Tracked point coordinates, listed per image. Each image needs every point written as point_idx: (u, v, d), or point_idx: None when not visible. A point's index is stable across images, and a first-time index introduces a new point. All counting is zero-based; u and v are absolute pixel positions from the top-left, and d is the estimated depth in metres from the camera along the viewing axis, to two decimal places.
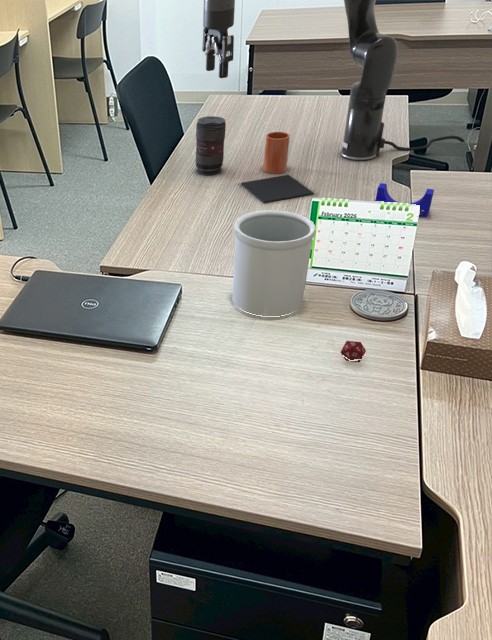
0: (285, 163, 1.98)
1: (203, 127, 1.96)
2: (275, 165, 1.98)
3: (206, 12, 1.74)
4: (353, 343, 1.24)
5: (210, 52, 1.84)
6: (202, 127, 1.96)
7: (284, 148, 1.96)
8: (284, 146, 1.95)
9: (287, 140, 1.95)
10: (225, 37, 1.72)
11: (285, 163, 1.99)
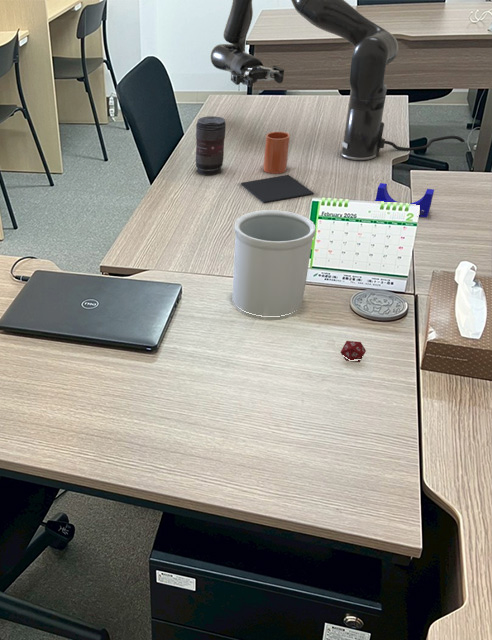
0: (285, 163, 1.98)
1: (203, 127, 1.96)
2: (275, 165, 1.98)
3: None
4: (353, 343, 1.24)
5: (274, 76, 2.03)
6: (202, 127, 1.96)
7: (284, 148, 1.96)
8: (284, 146, 1.95)
9: (287, 140, 1.95)
10: None
11: (285, 163, 1.99)
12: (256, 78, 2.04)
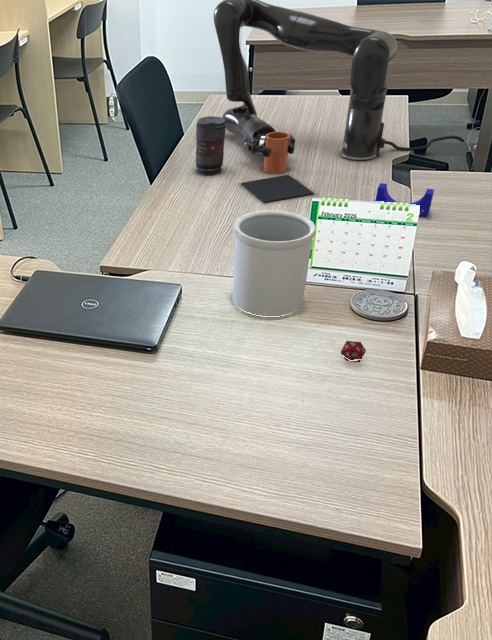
0: (285, 163, 1.98)
1: (203, 127, 1.96)
2: (275, 165, 1.98)
3: None
4: (353, 343, 1.24)
5: None
6: (202, 127, 1.96)
7: (284, 148, 1.96)
8: (284, 146, 1.95)
9: (287, 140, 1.95)
10: None
11: (285, 163, 1.99)
12: None
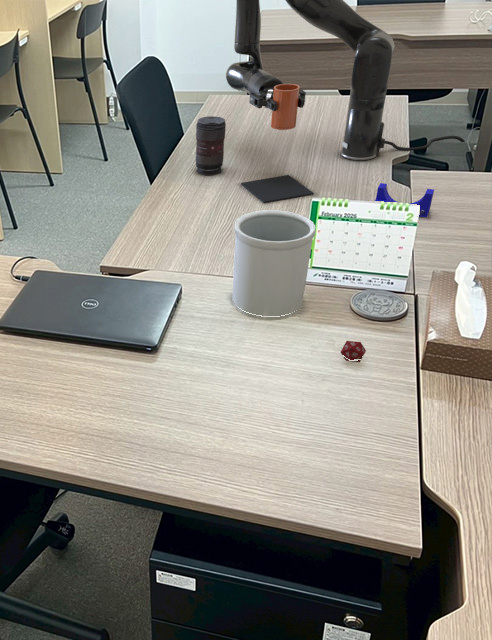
0: (294, 117, 1.82)
1: (203, 127, 1.96)
2: (283, 120, 1.82)
3: None
4: (353, 343, 1.24)
5: None
6: (202, 127, 1.96)
7: (293, 100, 1.79)
8: (293, 99, 1.79)
9: (297, 92, 1.78)
10: None
11: (294, 118, 1.82)
12: None
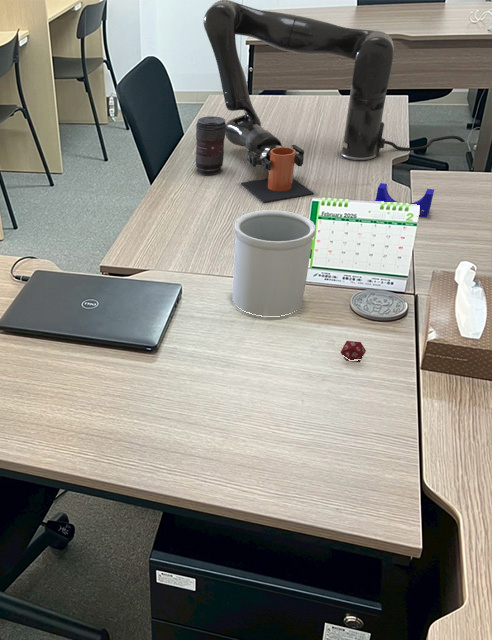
0: (290, 180, 1.87)
1: (203, 127, 1.96)
2: (280, 182, 1.87)
3: None
4: (353, 343, 1.24)
5: None
6: (202, 127, 1.96)
7: (289, 164, 1.84)
8: (289, 163, 1.84)
9: (293, 156, 1.83)
10: None
11: (290, 180, 1.87)
12: None
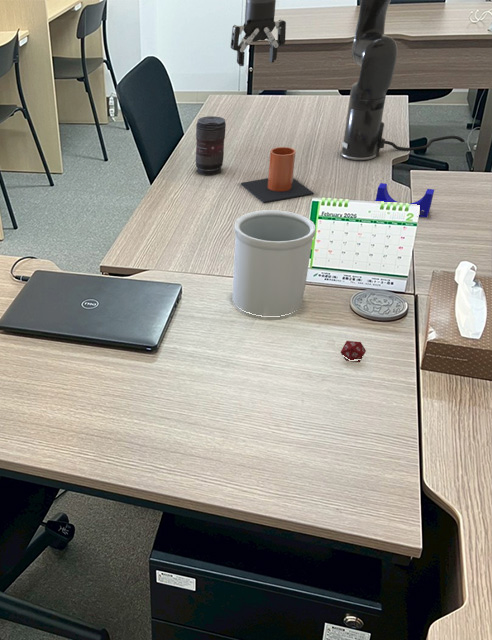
0: (290, 180, 1.87)
1: (203, 127, 1.96)
2: (280, 182, 1.87)
3: None
4: (353, 343, 1.24)
5: (272, 44, 1.90)
6: (202, 127, 1.96)
7: (289, 164, 1.84)
8: (289, 163, 1.84)
9: (293, 156, 1.83)
10: (233, 26, 1.87)
11: (290, 180, 1.87)
12: None
